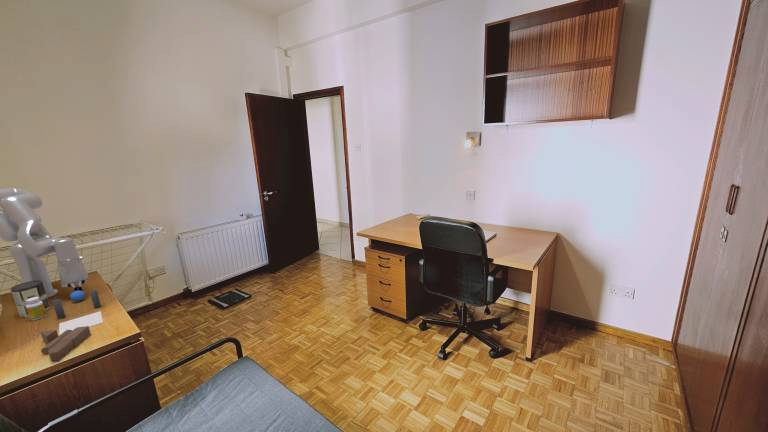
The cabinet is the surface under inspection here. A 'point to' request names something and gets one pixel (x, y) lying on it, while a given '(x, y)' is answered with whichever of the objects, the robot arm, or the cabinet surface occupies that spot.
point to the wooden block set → (63, 341)
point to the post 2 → (95, 298)
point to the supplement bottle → (35, 308)
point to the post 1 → (58, 308)
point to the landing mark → (81, 322)
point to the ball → (77, 296)
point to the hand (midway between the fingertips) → (79, 293)
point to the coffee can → (29, 295)
